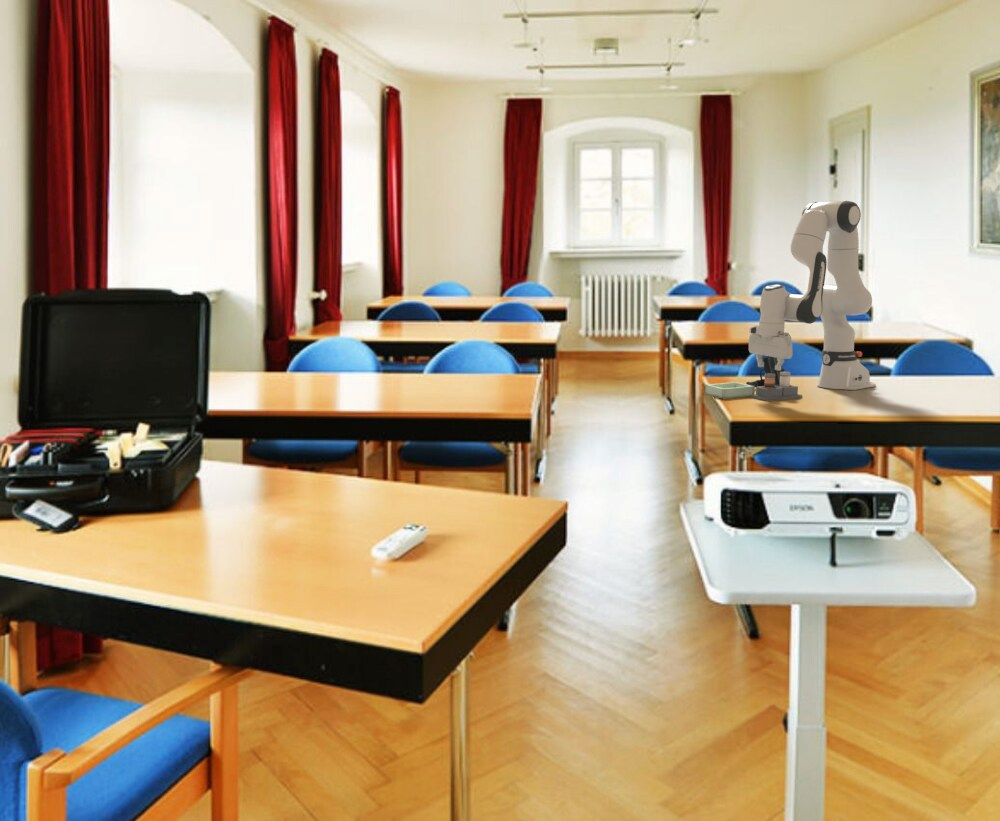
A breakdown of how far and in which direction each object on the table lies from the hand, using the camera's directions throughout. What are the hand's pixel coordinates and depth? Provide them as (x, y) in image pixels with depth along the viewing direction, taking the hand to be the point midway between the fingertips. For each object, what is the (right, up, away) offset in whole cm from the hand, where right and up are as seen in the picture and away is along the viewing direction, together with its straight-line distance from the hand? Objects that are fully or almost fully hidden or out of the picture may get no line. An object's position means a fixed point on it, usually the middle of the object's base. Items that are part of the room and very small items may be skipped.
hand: (769, 368), depth 368 cm
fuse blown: (+1, -10, +2) cm, 10 cm away
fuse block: (+4, -10, +4) cm, 12 cm away
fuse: (+7, -9, +5) cm, 12 cm away
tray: (-12, -9, +9) cm, 18 cm away
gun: (+4, -8, +19) cm, 21 cm away
